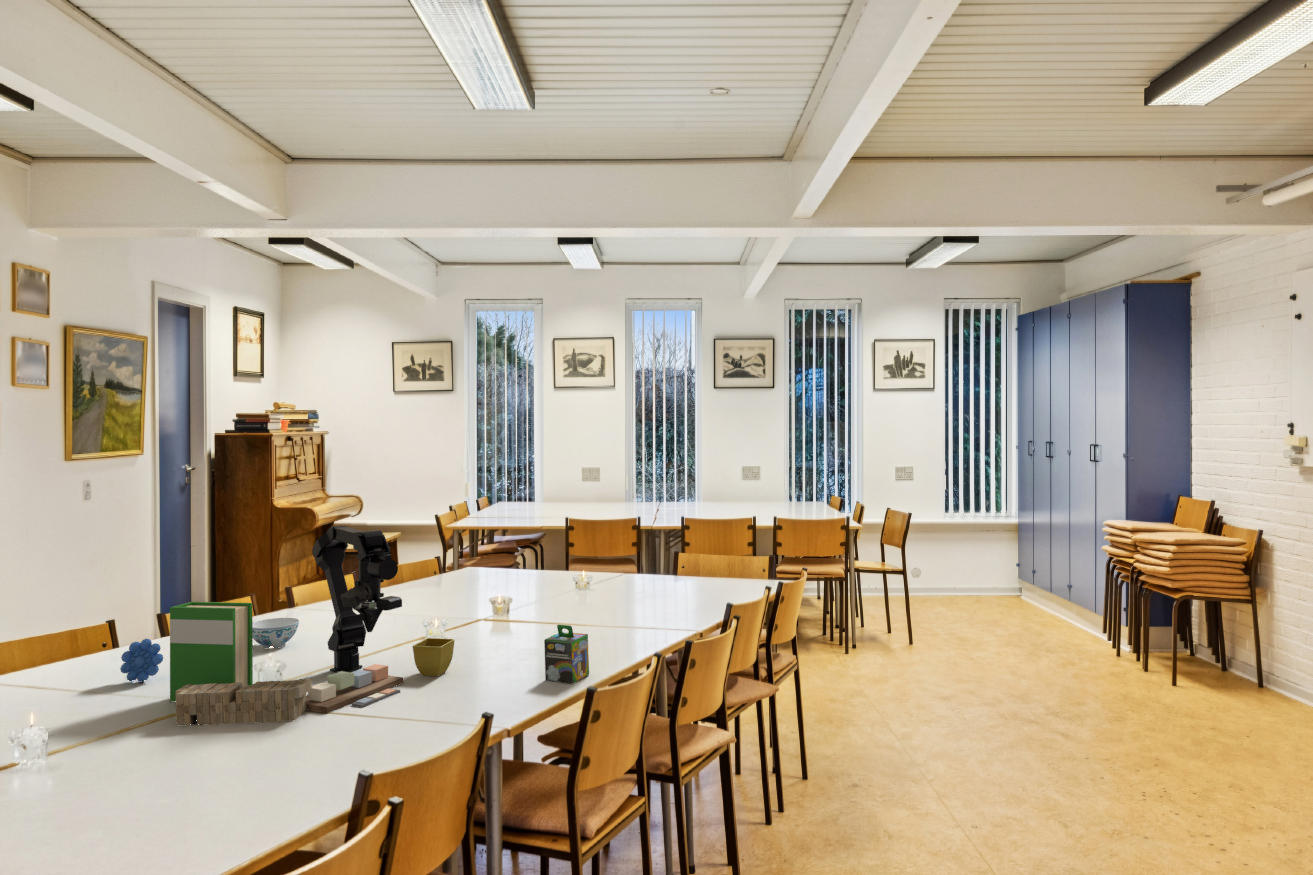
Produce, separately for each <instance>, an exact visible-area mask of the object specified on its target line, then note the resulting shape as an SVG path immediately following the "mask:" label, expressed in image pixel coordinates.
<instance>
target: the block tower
mask: <svg viewBox="0 0 1313 875" xmlns="http://www.w3.org/2000/svg"><path fill="white" fill-rule="evenodd" d="M312 680H313V679H312V678H299V679H294V680H269V681H267V680H266V681H265V680H264V681H256V682H253V685H245V686H244V687H243V683H231V684H230V683H227V684H218V685H217V683H214V684H199V685H192V684H191V685H185V686H183V687H182V688H181V689H179V690H177V691H176V702H175V717H176V718H175V720H176V722H177V723H176V725H189V726H191V725H190V724H192V723H193V724H195V723H196V725H197V724H210V725H231V724H232V725H234V724H235V725H236V724H254V722H256V723H257V722H258V723H273V722H274V723H275V721H278V722H291V721H292V722H293V720H295V721H296V720H297V719H298V718H299V717H300V716H302V715H303V713H304V712H305V711H307V710H306V696H307V693H308V691H309V690H311V689H312V686H313V685H312ZM196 720H197V721H196ZM195 721H196V722H195ZM194 722H195V723H194ZM193 724H192V725H193Z"/></svg>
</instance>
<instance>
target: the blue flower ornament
mask: <svg viewBox="0 0 1313 875" xmlns="http://www.w3.org/2000/svg"><path fill="white" fill-rule="evenodd" d="M160 651H161V645H160V643H152V640H151V639H150V638H144V639H142V640H141V641H132V643H130V645H129V647H128V650H126V651H124V652H123V653H122V654H121V661H122V662H123V663H122V664H121V666H120V668H119V669H120V672H121V673H122V674H126V680H127V681H128V680H129V681H128V682H133V681H132V680H135V681H136V680H137V682H139V681H144V680H146V681H148V679H149V677H150V676H151V677H153V676H155V675H157V673H158V672H159V670H160V669H159V666H158V665H160V664H161V663H163V661H164V657H163V656H164V655H163V654H162V653H159V652H160Z"/></svg>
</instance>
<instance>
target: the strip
mask: <svg viewBox="0 0 1313 875" xmlns="http://www.w3.org/2000/svg"><path fill="white" fill-rule="evenodd" d="M398 692H399V693H401V689H397V688H389V689H386V690H383V691H381V692H379V693H376V694H373V695H371V696H368V697H366V698H363V699H360V700H358V701H356V702H354V703H352V704H351V706H352V707H356V706H358V707H357V708H362V707H363V708H365V707H367V706H370V705H372V703H373V704H375V703H378V702H380V701H383V700H384V699H386V698H387V699H388V698H389V696H390V697H392V696H394V695H397V694H399V693H398ZM379 700H380V701H379Z"/></svg>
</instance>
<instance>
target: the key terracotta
mask: <svg viewBox="0 0 1313 875" xmlns="http://www.w3.org/2000/svg"><path fill="white" fill-rule="evenodd" d="M362 670H363V671H370V672H372V681H379V680H381V679H384V678H387V677H388V675H389V665H384V664H380V663H379V664H377V663H375V664H372V665H369V666H366V667H364V668H363V667H362Z"/></svg>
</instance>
